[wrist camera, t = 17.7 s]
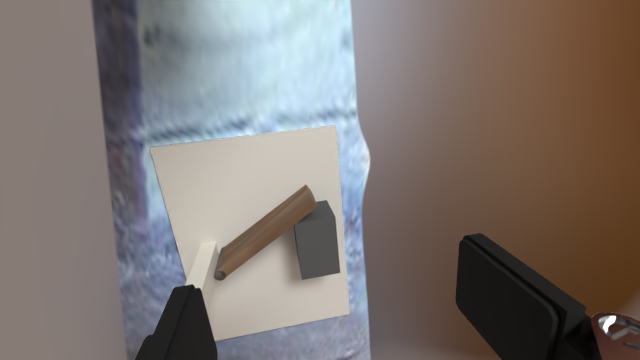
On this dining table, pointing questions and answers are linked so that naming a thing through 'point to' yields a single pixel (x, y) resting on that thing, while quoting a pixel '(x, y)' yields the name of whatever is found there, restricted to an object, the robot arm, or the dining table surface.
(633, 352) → the robot arm
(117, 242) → the dining table surface
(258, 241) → the wooden slat
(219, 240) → the cream base with post
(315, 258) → the block
